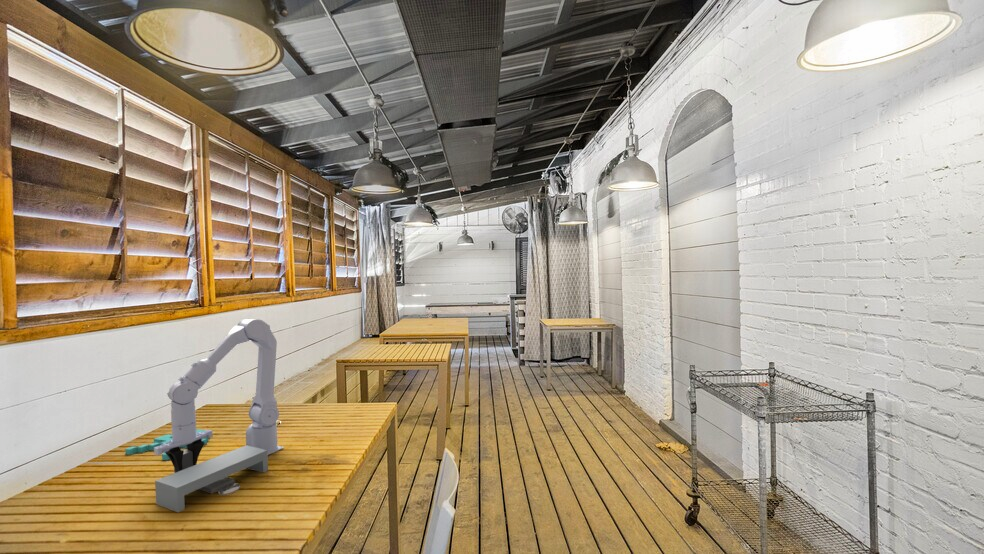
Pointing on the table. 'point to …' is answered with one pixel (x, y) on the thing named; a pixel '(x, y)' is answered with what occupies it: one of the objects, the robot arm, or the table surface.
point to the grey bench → (207, 475)
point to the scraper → (211, 488)
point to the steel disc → (229, 489)
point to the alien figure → (156, 443)
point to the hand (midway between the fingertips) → (185, 470)
